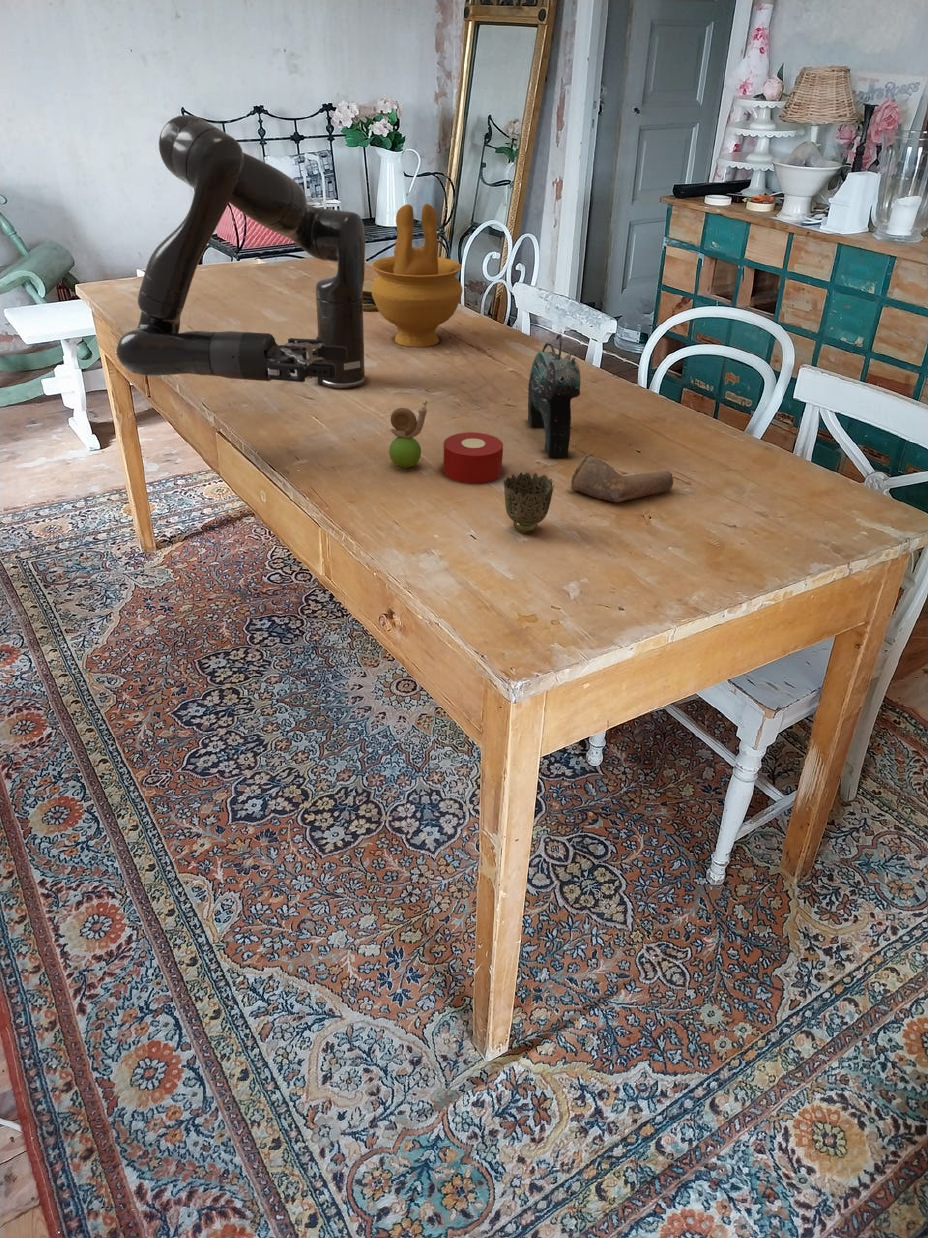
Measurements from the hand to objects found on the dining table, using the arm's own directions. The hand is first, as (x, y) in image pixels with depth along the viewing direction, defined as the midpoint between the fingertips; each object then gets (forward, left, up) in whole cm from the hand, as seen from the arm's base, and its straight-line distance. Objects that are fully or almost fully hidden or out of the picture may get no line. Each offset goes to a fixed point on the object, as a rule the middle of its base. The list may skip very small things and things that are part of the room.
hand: (341, 361), depth 152 cm
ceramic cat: (+34, +16, -18) cm, 42 cm away
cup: (+32, -20, -18) cm, 42 cm away
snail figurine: (+11, 0, -18) cm, 21 cm away
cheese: (+22, 0, -17) cm, 28 cm away
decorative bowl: (+2, +72, -18) cm, 74 cm away
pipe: (+47, -4, -18) cm, 50 cm away
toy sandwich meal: (-15, +100, -18) cm, 103 cm away
